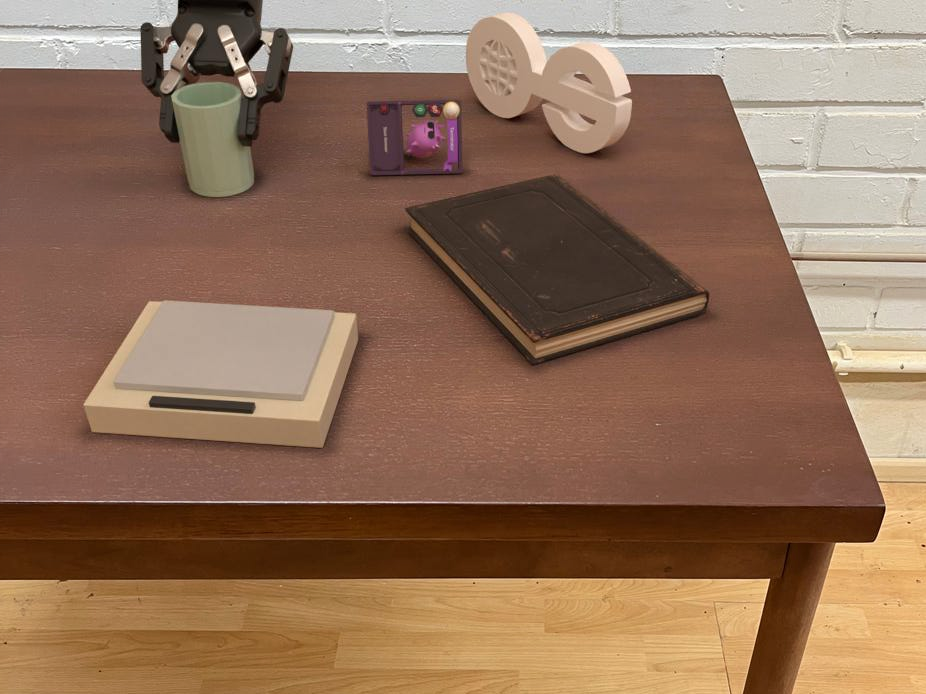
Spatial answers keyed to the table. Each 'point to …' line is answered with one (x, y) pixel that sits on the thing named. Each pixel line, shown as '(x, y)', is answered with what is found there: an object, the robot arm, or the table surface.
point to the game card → (412, 135)
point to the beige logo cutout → (548, 82)
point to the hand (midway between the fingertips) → (208, 140)
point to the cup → (212, 139)
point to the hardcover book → (553, 267)
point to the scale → (226, 374)
